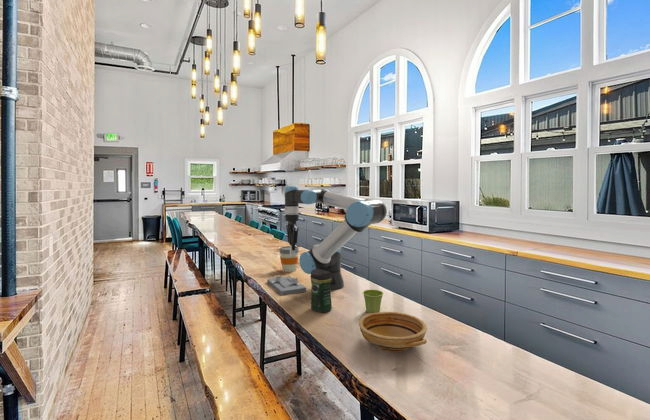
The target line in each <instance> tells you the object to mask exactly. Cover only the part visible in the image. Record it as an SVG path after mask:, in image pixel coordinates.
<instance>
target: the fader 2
mask: <svg viewBox="0 0 650 420" xmlns="http://www.w3.org/2000/svg"><path fill="white" fill-rule="evenodd" d="M298 282H299V281H298V277H295V276H294V277H292V278H291V284H292V285H293V284H298Z"/></svg>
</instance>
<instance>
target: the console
mask: <svg viewBox="0 0 650 420" xmlns="http://www.w3.org/2000/svg"><path fill="white" fill-rule="evenodd" d="M291 278H293V277H292V276H291V275H287V276H281V282H275V277H272V278H267V279H266V283H268V284H269V286H271V288H273V289H274V290H276V292H277V293H278V294H280V295H281V296H284V295H291V294H297V293H298V294H299V293H303V292H307V287H306V286H305V285H303V284H302V283H300V282H299V281H298V284H293V285H292V284H291Z"/></svg>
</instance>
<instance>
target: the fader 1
mask: <svg viewBox="0 0 650 420" xmlns="http://www.w3.org/2000/svg"><path fill="white" fill-rule="evenodd" d="M281 277H282V276H281V275H279V274H278V275H277V274H276V275H274V276H273V278H275V282H281Z"/></svg>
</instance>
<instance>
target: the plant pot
mask: <svg viewBox="0 0 650 420" xmlns="http://www.w3.org/2000/svg"><path fill="white" fill-rule="evenodd" d="M362 294H363V298H364V304H365V312H367V314H369V313H377V312H381V311H380V310H381V304H382V298H383V295H384V292H383V291H382V290H379V289H365V290H363V291H362Z"/></svg>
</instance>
